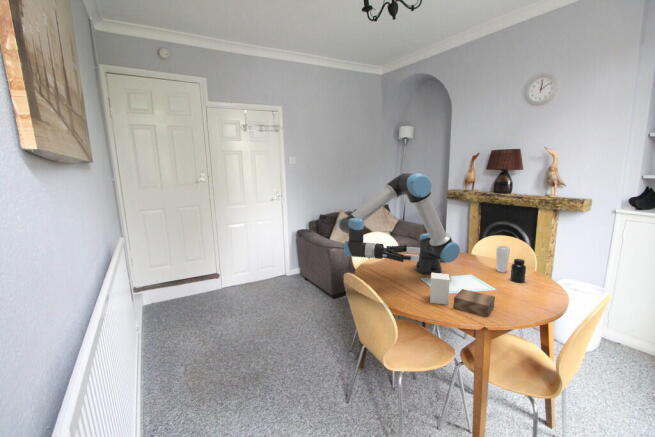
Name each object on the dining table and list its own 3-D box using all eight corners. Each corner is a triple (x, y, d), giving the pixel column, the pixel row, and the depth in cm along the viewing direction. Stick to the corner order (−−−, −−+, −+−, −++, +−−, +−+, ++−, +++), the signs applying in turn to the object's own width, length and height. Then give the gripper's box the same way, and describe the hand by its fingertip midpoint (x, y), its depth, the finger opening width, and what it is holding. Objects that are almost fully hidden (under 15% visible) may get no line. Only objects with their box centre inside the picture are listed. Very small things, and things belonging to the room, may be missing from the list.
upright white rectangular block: (429, 302, 144) (431, 278, 142) (430, 295, 151) (431, 272, 149) (448, 304, 141) (449, 280, 139) (447, 297, 148) (448, 274, 146)
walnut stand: (453, 307, 138) (454, 297, 137) (461, 298, 147) (462, 289, 146) (487, 317, 129) (488, 305, 128) (494, 306, 138) (494, 296, 138)
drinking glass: (492, 269, 188) (494, 245, 185) (503, 269, 188) (505, 245, 186) (499, 273, 181) (501, 248, 178) (510, 272, 182) (512, 248, 179)
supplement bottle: (526, 283, 165) (529, 262, 163) (512, 282, 167) (514, 261, 165) (521, 278, 172) (523, 258, 170) (508, 278, 173) (510, 257, 171)
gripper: (379, 251, 165) (420, 254, 158) (369, 265, 142) (417, 270, 135) (379, 238, 164) (420, 240, 157) (369, 249, 140) (418, 253, 133)
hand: (419, 254), depth 146 cm, fingers open, 13 cm apart
